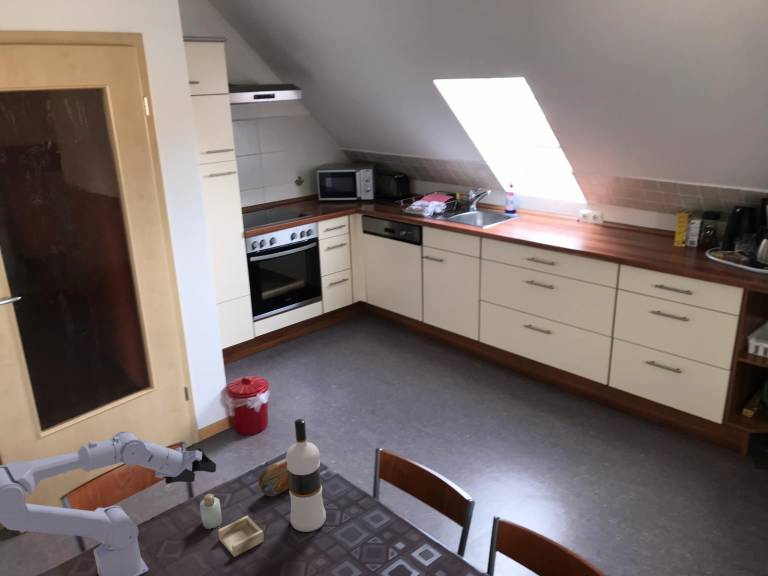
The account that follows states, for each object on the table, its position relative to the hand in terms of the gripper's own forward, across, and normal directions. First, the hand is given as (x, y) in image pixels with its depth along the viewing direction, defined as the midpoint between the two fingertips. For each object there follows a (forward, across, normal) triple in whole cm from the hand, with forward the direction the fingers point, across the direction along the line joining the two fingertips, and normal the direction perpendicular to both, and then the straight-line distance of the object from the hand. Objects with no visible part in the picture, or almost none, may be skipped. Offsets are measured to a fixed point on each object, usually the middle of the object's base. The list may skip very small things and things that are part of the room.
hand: (204, 472), depth 157 cm
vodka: (+25, -13, +11) cm, 30 cm away
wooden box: (+13, -1, +15) cm, 19 cm away
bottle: (+11, +9, +8) cm, 16 cm away
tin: (+28, -2, -2) cm, 28 cm away
